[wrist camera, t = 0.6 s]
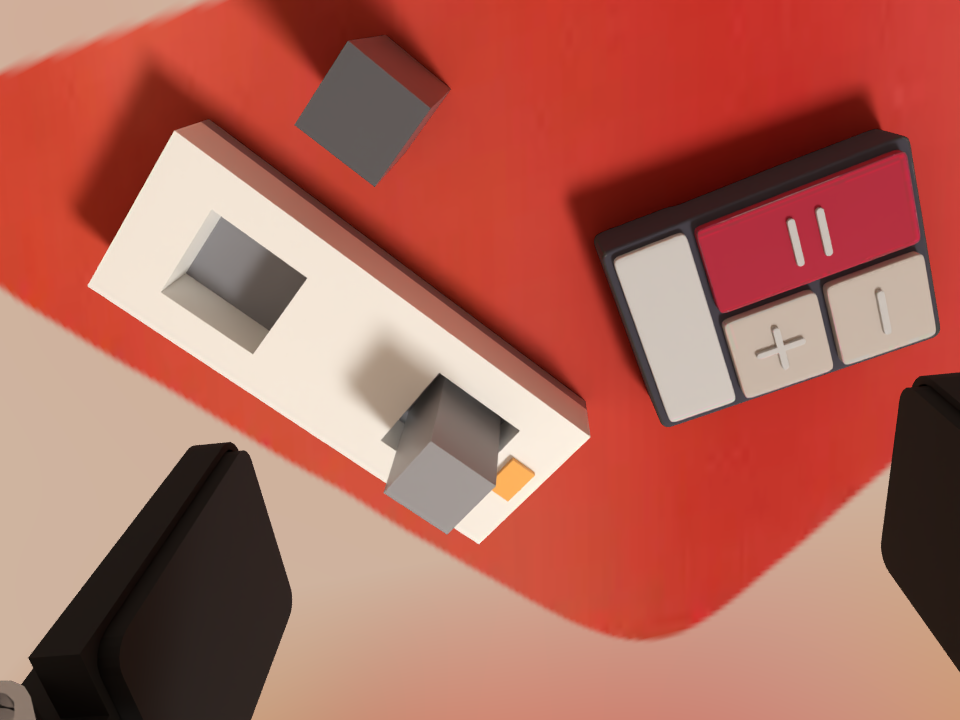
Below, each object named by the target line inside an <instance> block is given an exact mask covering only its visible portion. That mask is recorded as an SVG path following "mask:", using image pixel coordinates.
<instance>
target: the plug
mask: <svg viewBox="0 0 960 720" xmlns="http://www.w3.org/2000/svg"><path fill="white" fill-rule="evenodd" d="M450 90H451V89H450V88H449V87H448V86H446V85H445V84H444V83H443V82H442V81H441V80H439V79H438V78H437V77H436V76H435V75H433V74H432V73H431V72H430V71H429V70H427V69H426V68H425V67H424V66H423V65H421V64H420V63H419V62H418V61H417V60H415V59H414V58H413V57H412V56H411V55H409V54H408V53H407V52H406V51H405V50H403V49H402V48H401V47H400V46H399V45H397V44H396V43H395V42H394V41H393V40H391V39H390V38H389V37H388V36H387V35H381V36H375V37H368V38H362V39H355V40H349V41H347V43H346V45H345V46H344V48H343V49H342V51H341V53H340V54H339V56H338V57H337V59H336V60H335V62H334V64H333V65H332V67H331V68H330V70H329V71H328V73H327V75H326V76H325V78H324V79H323V81H322V82H321V84H320V86H319V87H318V89H317V90H316V92H315V93H314V95H313V97H312V98H311V100H310V101H309V103H308V105H307V106H306V108H305V109H304V111H303V112H302V114H301V116H300V117H299V119H298V120H297V122H296V123H295V126H297V127H298V128H299V129H300V130H302V131H303V132H304V133H306V134H307V135H308V136H309V137H311V138H312V139H313V140H315V141H316V142H317V143H319V144H320V145H321V146H322V147H324V148H325V149H326V150H328V151H329V152H330V153H331V154H333V155H334V156H335V157H337V158H338V159H339V160H341V161H342V162H343V163H344V164H346V165H347V166H348V167H350V168H351V169H352V170H354V171H355V172H356V173H357V174H359V175H360V176H361V177H363V178H364V179H365V180H366V181H368V182H369V183H370V184H372V185H373V186H374V187H375V186H376V185H377V184H378V183H379V182H380V180H381V179H382V178H383V177H384V176H385V175H386V174H387V173H388V172H389V170H390V169H391V168H392V167H393V166H394V165H395V164H396V163H397V161H398V160H399V159H400V158H401V157H402V156H403V155H404V154H405V152H406V151H407V149H408V148H409V147H410V145H411V144H412V143H413V141H414V140H415V138H416V137H417V136H418V134H419V133H420V131H421V130H422V129H423V127H424V126H425V124H426V123H427V122H428V120H429V119H430V118H431V116H432V115H433V113H434V112H435V111H436V109H437V108H438V106H439V105H440V104H441V102H442V101H443V99H444V98H445V97H446V95H447V94H448V93H449V91H450Z"/></svg>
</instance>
